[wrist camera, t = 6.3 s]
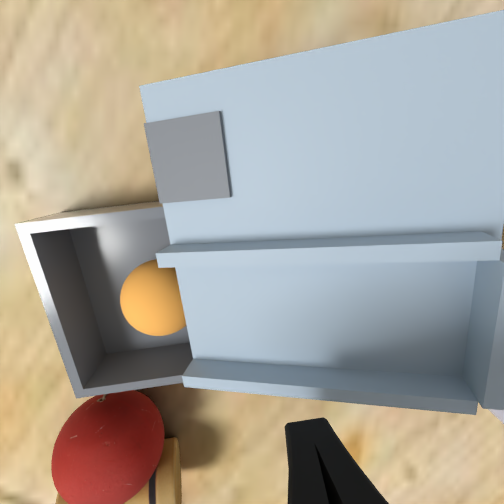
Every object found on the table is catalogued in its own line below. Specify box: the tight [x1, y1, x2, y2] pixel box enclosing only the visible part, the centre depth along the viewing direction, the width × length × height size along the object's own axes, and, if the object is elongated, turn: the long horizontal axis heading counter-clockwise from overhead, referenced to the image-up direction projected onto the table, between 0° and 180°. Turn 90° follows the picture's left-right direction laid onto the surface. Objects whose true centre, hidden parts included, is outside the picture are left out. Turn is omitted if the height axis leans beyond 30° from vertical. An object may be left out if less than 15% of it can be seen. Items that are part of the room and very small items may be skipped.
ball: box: [120, 259, 186, 336], centre depth 15 cm, size 4×4×4 cm
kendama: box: [52, 390, 182, 504], centre depth 19 cm, size 8×6×18 cm
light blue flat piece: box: [139, 10, 504, 415], centre depth 10 cm, size 12×13×2 cm
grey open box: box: [15, 201, 193, 398], centre depth 16 cm, size 10×10×4 cm
